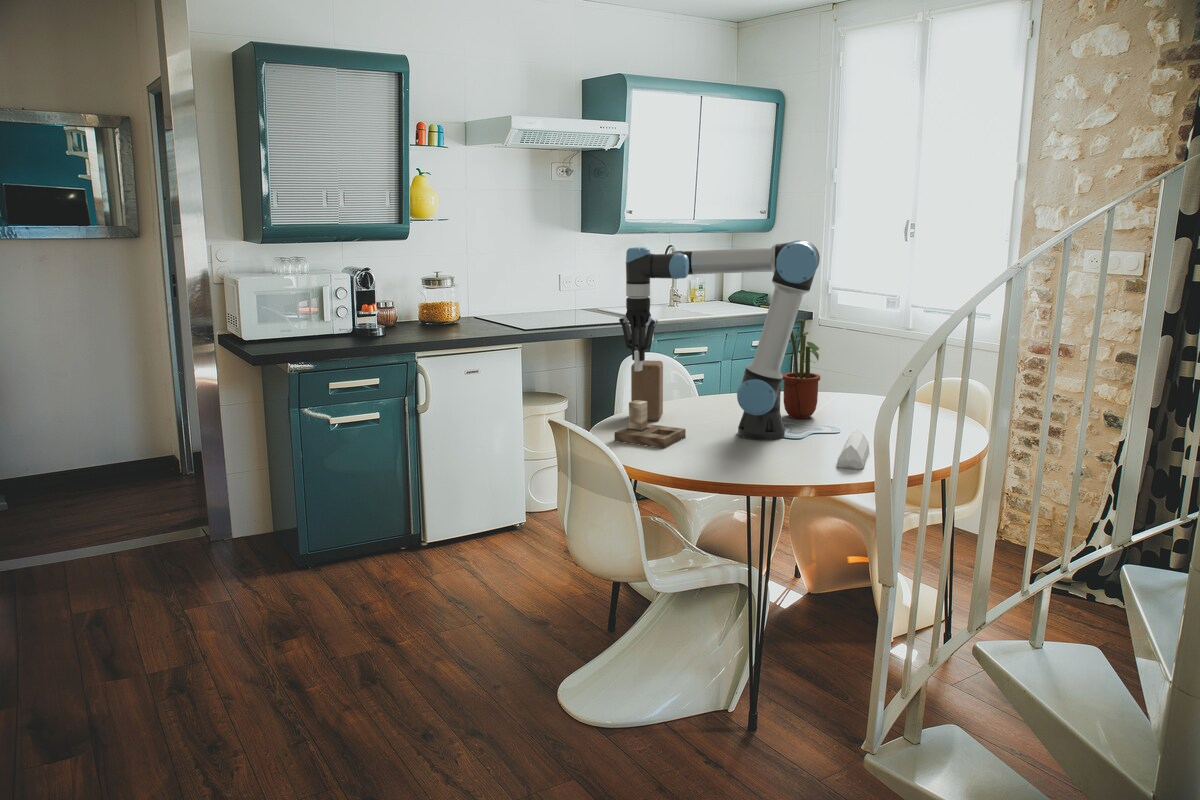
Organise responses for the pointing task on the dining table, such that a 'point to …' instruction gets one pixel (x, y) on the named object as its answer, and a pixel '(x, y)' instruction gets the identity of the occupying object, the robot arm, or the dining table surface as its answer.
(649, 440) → the walnut board
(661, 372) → the wooden block
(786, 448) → the dining table surface
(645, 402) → the beech peg
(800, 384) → the potted plant
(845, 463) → the crystal
